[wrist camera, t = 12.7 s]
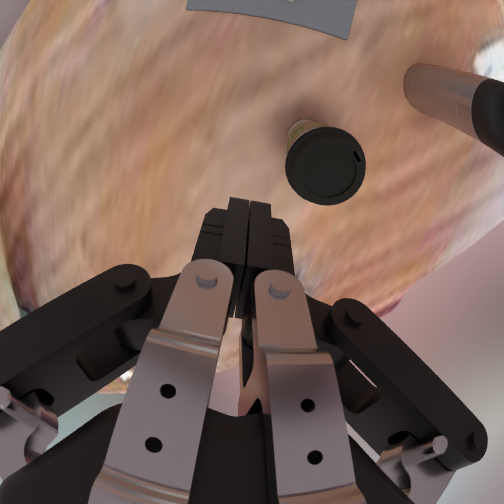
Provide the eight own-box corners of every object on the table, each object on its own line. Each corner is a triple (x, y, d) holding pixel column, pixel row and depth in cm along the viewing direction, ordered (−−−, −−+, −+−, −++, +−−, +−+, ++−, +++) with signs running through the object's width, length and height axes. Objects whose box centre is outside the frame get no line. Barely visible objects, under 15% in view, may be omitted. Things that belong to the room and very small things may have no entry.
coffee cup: (263, 130, 40) (269, 162, 28) (314, 97, 36) (345, 114, 25) (297, 175, 45) (315, 224, 33) (346, 145, 41) (382, 184, 29)
